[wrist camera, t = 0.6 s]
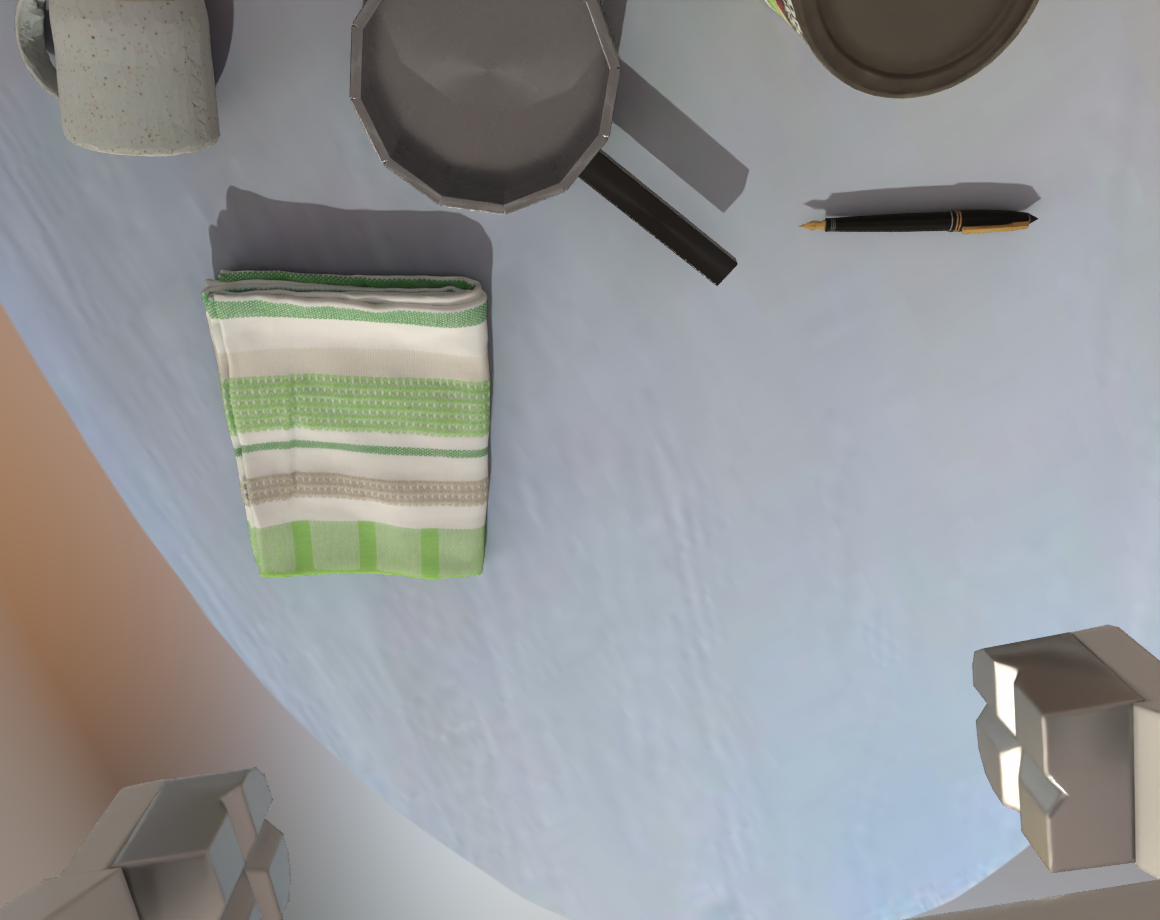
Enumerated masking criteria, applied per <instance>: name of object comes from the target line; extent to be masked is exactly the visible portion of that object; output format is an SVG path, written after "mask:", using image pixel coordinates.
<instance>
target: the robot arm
mask: <svg viewBox="0 0 1160 920" xmlns="http://www.w3.org/2000/svg"><path fill="white" fill-rule="evenodd" d="M972 669H973V686H974V687H975V688H976V690H977V691H978V692H979V694H980V695H981V696H982V697H983V699H984V700H985V701H986V703H987V704H986V706H985V707H984V709H983V711H982V712H981V714H980V715H979V717H978V719H977V720H976V728H977V738H978V748H979V752H980V756H981V759H982V763H983V767H984V771H985V774H986V776H987V778H988V780H989V782H990V784H991V787H992V789H993V791H994V792H995V794H996V795H997V797H998V798H999V800H1000V801H1001V803H1002V804H1003V805H1004V806H1006V807H1009V808H1011V809H1013V810H1015V811H1017V812H1019V813H1020V816H1021V831H1022V833H1023V834H1024V836H1025V837H1026V839H1027V840H1028V841H1029V843H1030V844H1031V846H1032V847H1033V848H1034V850H1035V851H1036V853H1037V854H1038V855H1039V857H1040V858H1041V860H1042V861H1043V862H1044V864H1045V865H1046V867H1047V868H1048V870H1049V871H1050V872H1051V873H1057V872H1065V871H1072V870H1080V869H1088V868H1096V867H1103V866H1111V865H1119V864H1127V863H1134V862H1136V866H1137V867H1139V868H1140V869H1142V870H1144V871H1145V872H1147V873H1149V874H1151V875H1152V876H1154V877H1156V878H1158V879H1159V880H1153V881H1147V882H1141V883H1135V884H1128V885H1122V886H1115V887H1109V888H1103V889H1096V890H1090V891H1083V892H1077V893H1071V894H1065V895H1058V896H1052V897H1045V898H1039V899H1033V900H1026V901H1020V902H1014V903H1007V904H1001V905H994V906H988V907H982V908H975V909H969V910H963V911H957V912H950V913H943V914H937V915H931V916H925V917H918V918H912V919H905V920H1160V661H1159V660H1158V659H1157V658H1156V657H1155V656H1153V655H1152V654H1151V653H1150V652H1148V651H1147V650H1146V649H1145V648H1144V647H1142V646H1141V645H1140V644H1139V643H1137V642H1136V641H1135V640H1134V639H1132V638H1131V637H1130V636H1129V635H1128V634H1126V633H1125V632H1124V631H1123V630H1121V629H1120V628H1119V627H1116V626H1111V625H1104V626H1099V627H1094V628H1090V629H1085V630H1080V631H1075V632H1068V633H1063V634H1058V635H1052V636H1047V637H1042V638H1036V639H1031V640H1026V641H1021V642H1015V643H1010V644H1005V645H999V646H994V647H989V648H984V649H980V650H977V651H974V658H973V664H972ZM272 801H273V798H272V795H271V792H270V789H269V786H268V783H267V780H266V777H265V774H263V773H262V772H261V771H260V770H259V769H258V768H257V767H251V768H244V769H238V770H231V771H224V772H217V773H210V774H203V775H196V776H190V777H182V778H175V779H172V780H169V779H164V780H158V781H153V782H148V783H143V784H137V785H132V786H129V787H126V788H123V789H121V790H120V791H119V792H118V794H117V795H116V797H115V798H114V799H113V801H112V802H111V804H110V805H109V807H108V808H107V809H106V811H105V812H104V814H103V815H102V817H101V818H100V819H99V821H98V822H97V824H96V825H95V827H94V828H93V829H92V831H91V832H90V834H89V835H88V836H87V838H86V839H85V840H84V842H83V843H82V845H81V846H80V848H79V849H78V850H77V852H76V854H75V855H74V856H73V857H72V859H71V860H70V862H69V863H68V865H67V866H66V867H65V869H64V870H63V872H62V873H61V874H60V876H59V877H55V878H49V879H44V880H43V881H41V882H40V883H38V884H37V885H35V886H34V887H32V888H31V889H29V890H27V891H26V892H24V893H23V894H21V895H20V896H18V897H17V898H15V899H14V900H12V901H10V902H9V903H7V904H6V905H4V906H3V907H1V908H0V920H283V917H284V914H285V911H286V908H287V905H288V902H289V897H290V884H291V883H290V882H291V868H290V860H289V852H288V849H287V845H286V841H285V838H284V834H283V833H282V832H281V831H280V830H279V829H277V828H276V827H275V826H273V825H272V824H271V823H270V822H269V821H267V820H266V819H265V817H266V815H267V813H268V810H269V808H270V806H271V803H272Z"/></svg>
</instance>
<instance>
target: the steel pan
mask: <svg viewBox="0 0 1160 920" xmlns="http://www.w3.org/2000/svg"><path fill="white" fill-rule="evenodd" d="M620 71H621V68H620V61H619V56H618V52H617V49H616V46H615V43H614V40H613V37H612V34H611V31H610V29H609V26H608V23H607V20H606V17H605V14H604V11H603V8H602V6H601V3H600V0H367V1H366V3H365V4H364V6H363V7H362V9H361V10H360V12H359V14H358V15H357V17H356V18H355V20H354V21H353V25H352V32H351V67H350V98H352V99H351V103H352V105H353V107H354V109H355V111H356V113H357V115H358V117H359V119H360V121H361V123H362V125H363V127H364V129H365V131H366V133H367V135H368V137H369V139H370V141H371V143H372V145H373V147H374V149H375V151H376V153H377V155H378V157H379V159H380V161H381V162H382V163H384V166H385V167H387V168H388V169H390V170H391V171H392V172H394V173H395V174H396V175H398V176H399V177H401V178H402V179H403V180H405V181H406V182H407V183H409V184H410V185H411V186H413V187H414V188H416V189H417V190H418V191H420V192H421V193H422V194H424V195H425V196H427V197H428V198H429V199H431V200H432V201H433V202H435V203H436V204H439V203H440V206H446V207H453V208H460V209H467V210H474V211H481V212H488V213H495V214H502V215H503V214H504V212H505V214H509V213H511V212H514V211H516V210H519V209H522V208H524V207H527V206H529V205H532V204H535V203H537V202H540V201H542V200H545V199H548V198H550V197H553V196H555V195H558V194H560V193H563V192H565V189H566V190H568V189H569V187H570V186H571V185H572V184H573V182H574V181H575V180H576V179H577V177H579V178H580V179H582V180H583V181H584V182H586V183H587V184H588V185H589V186H591V187H592V188H593V189H594V190H596V191H597V192H598V193H599V194H601V195H602V196H603V197H605V198H606V199H607V200H608V201H610V202H611V203H612V204H613V205H615V206H616V207H617V208H619V209H620V210H621V211H622V212H624V213H625V214H626V215H627V216H629V217H630V218H631V219H632V220H634V221H635V222H636V223H638V224H639V225H640V226H641V227H643V228H644V229H645V230H646V231H648V232H649V233H650V234H651V235H653V236H654V237H655V238H657V239H658V240H659V241H660V242H662V243H663V244H664V245H665V246H667V247H668V248H669V249H670V250H672V251H673V252H674V253H676V254H677V255H678V256H679V257H681V258H682V259H683V260H684V261H686V262H687V263H688V264H690V265H691V266H692V267H693V268H695V269H696V270H697V271H698V272H700V273H701V274H702V275H703V276H705V277H706V278H707V279H709V280H710V281H711V282H712V283H714V284H715V285H716V286H718V285H719V284H720V283H721V282H722V280H723V279H724V278H725V277H726V276H727V275H728V274H729V273H730V272H731V271H732V270H733V269H734V268H735V267H736V266H737V261H736V258H735V257H733V256H732V255H731V254H730V253H728V252H727V251H726V250H725V249H724V248H722V247H721V246H720V245H719V244H717V243H716V242H715V241H714V240H712V239H711V238H710V237H709V236H707V235H706V234H705V233H704V232H703V231H701V230H700V229H699V228H698V227H696V226H695V225H694V224H693V223H691V222H690V221H689V220H688V219H686V218H685V217H684V216H683V215H682V214H680V213H679V212H678V211H677V210H675V209H674V208H673V207H672V206H670V205H669V204H668V203H667V202H665V201H664V200H663V199H662V198H661V197H659V196H658V195H657V194H656V193H654V192H653V191H652V190H651V189H649V188H648V187H647V186H646V185H644V184H643V183H642V182H641V181H640V180H638V179H637V178H636V177H635V176H633V175H632V174H631V173H630V172H628V171H627V170H626V169H625V168H623V167H622V166H621V165H620V164H619V163H617V162H616V161H615V160H614V159H612V158H611V157H610V156H609V155H607V154H606V153H605V152H604V151H602V150H601V148H602V147H603V145H604V144H605V143H606V142H607V140H608V137H609V136H610V130H611V124H612V118H613V112H614V107H615V101H616V95H617V89H618V83H619V77H620Z"/></svg>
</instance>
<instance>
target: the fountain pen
mask: <svg viewBox="0 0 1160 920" xmlns="http://www.w3.org/2000/svg"><path fill="white" fill-rule="evenodd" d="M1037 219H1038V218H1036V217H1034V216H1033V215H1031V214H1029V213H1025V212H1016V211H1002V210H955V211H949V212H935V213H905V214H888V215H871V216H854V217H840V218H826V219H825V220H823V221H811V222H809V223H807V224H804V225H801V226H800V227H804V228H807V229H810V230H816V229H823V230H825V232H827V231H837V232H912V231H948V232H960V231H962V233H963V234H968V233H984V232H1000V231H1013V230H1020V229H1026V228H1028V226H1029V224H1030V223H1032V222H1033V221H1035V220H1037Z"/></svg>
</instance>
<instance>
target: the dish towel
mask: <svg viewBox="0 0 1160 920" xmlns="http://www.w3.org/2000/svg"><path fill="white" fill-rule="evenodd" d="M220 273H221V274H219V275H218V280H212V279H206V280H205V285H206V288H205V289H204V290H203V291H202V292H201V296H202V300H203V301H204V303H205V306H206V315H207V319H208V323H209V327H210V334H211V337H212V340H213V346H214V350H215V353H216V358H217V362H218V367H219V377H220V383H221V387H222V388H221V390H222V397H223V404H224V411H225V416H226V421H227V424H228V429H229V433H230V436H231V439H232V443H233V447H234V451H235V455H236V461H237V465H238V470H239V481H240V488H241V493H242V498H243V501H244V505H245V509H246V515H247V520H248V523H249V533H250V539H251V544H252V548H253V552H254V556H255V563H256V565H260V575H261V576H262V577H269V578H278V577H291V576H303V575H317V574H336V573H347V574H350V573H376V574H387V575H400V576H407V577H416V578H423V579H441V578H455V577H467V576H472V575H480V574H481V573H482V572H483V563H484V553H485V518H486V510H487V500H488V493H489V476H488V438H489V424H490V388H491V378H490V374H489V360H488V349H487V344H488V328H487V321H486V317H487V295H486V293H485V292H484V291H483V290H481V284H480V283H479V282H478V281H475V280H472V279H470V278H467V277H462V276H448V277H439V276H426V275H418V276H399V275H394V276H379V275H378V276H370V275H335V274H303V273H292V272H286V271H250V270H246V271H228V270H225V269H222V270H221V271H220Z"/></svg>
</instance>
